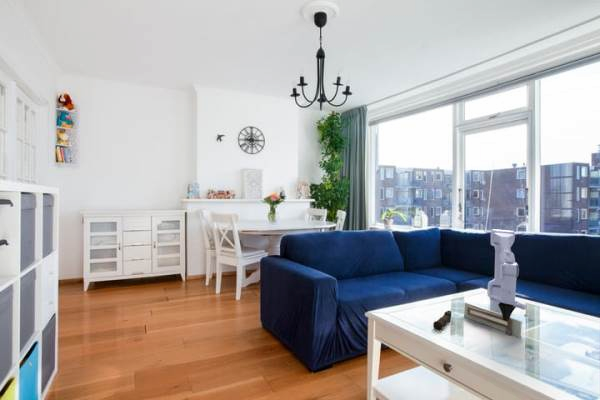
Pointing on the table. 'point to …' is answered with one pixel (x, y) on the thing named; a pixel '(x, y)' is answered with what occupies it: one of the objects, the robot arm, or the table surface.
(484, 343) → the table surface
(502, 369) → the table surface
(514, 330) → the wall panel
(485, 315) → the grooved wooden rail
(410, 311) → the table surface
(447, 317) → the dark brown bar
